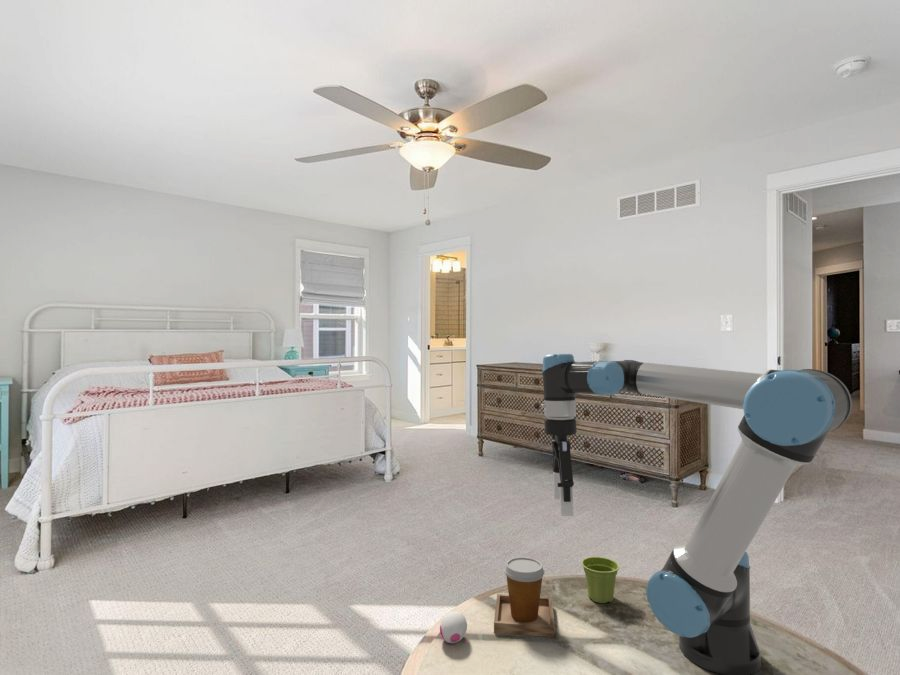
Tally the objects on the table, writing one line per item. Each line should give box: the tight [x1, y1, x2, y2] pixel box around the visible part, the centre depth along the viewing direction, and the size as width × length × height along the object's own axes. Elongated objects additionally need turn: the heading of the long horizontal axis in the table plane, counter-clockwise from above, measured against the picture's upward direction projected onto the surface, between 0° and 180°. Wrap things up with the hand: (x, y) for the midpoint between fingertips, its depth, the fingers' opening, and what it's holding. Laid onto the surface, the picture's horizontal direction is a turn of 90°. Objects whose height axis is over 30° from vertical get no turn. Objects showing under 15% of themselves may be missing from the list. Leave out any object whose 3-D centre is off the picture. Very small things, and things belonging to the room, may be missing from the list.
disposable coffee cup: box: [503, 556, 545, 622], centre depth 119 cm, size 10×10×12 cm
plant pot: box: [581, 556, 620, 604], centre depth 129 cm, size 9×9×9 cm
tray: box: [493, 593, 556, 638], centre depth 119 cm, size 14×14×2 cm
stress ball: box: [435, 610, 468, 644], centre depth 111 cm, size 8×8×7 cm
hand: (563, 506), depth 120 cm, fingers open, 13 cm apart
